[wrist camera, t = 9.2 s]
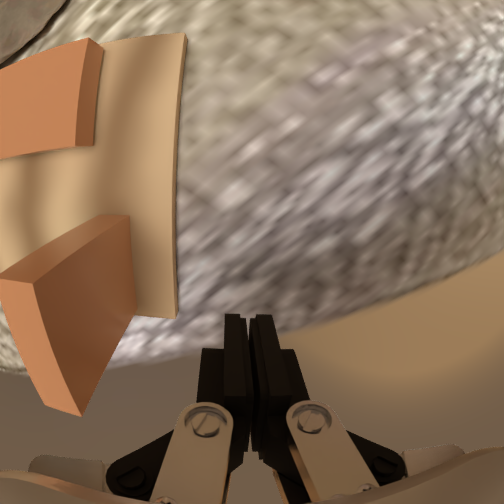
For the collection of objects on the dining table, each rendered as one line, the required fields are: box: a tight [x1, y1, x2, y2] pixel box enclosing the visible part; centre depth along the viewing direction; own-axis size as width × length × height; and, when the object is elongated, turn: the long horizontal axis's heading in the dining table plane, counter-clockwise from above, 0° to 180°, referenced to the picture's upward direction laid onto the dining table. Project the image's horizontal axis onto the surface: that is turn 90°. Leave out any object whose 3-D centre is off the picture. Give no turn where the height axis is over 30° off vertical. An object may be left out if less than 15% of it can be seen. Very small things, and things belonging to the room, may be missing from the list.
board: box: [0, 33, 188, 319], centre depth 14 cm, size 19×17×1 cm
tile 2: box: [0, 215, 137, 417], centre depth 12 cm, size 2×6×9 cm, turn 176°
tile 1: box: [0, 38, 104, 160], centre depth 11 cm, size 2×6×9 cm
